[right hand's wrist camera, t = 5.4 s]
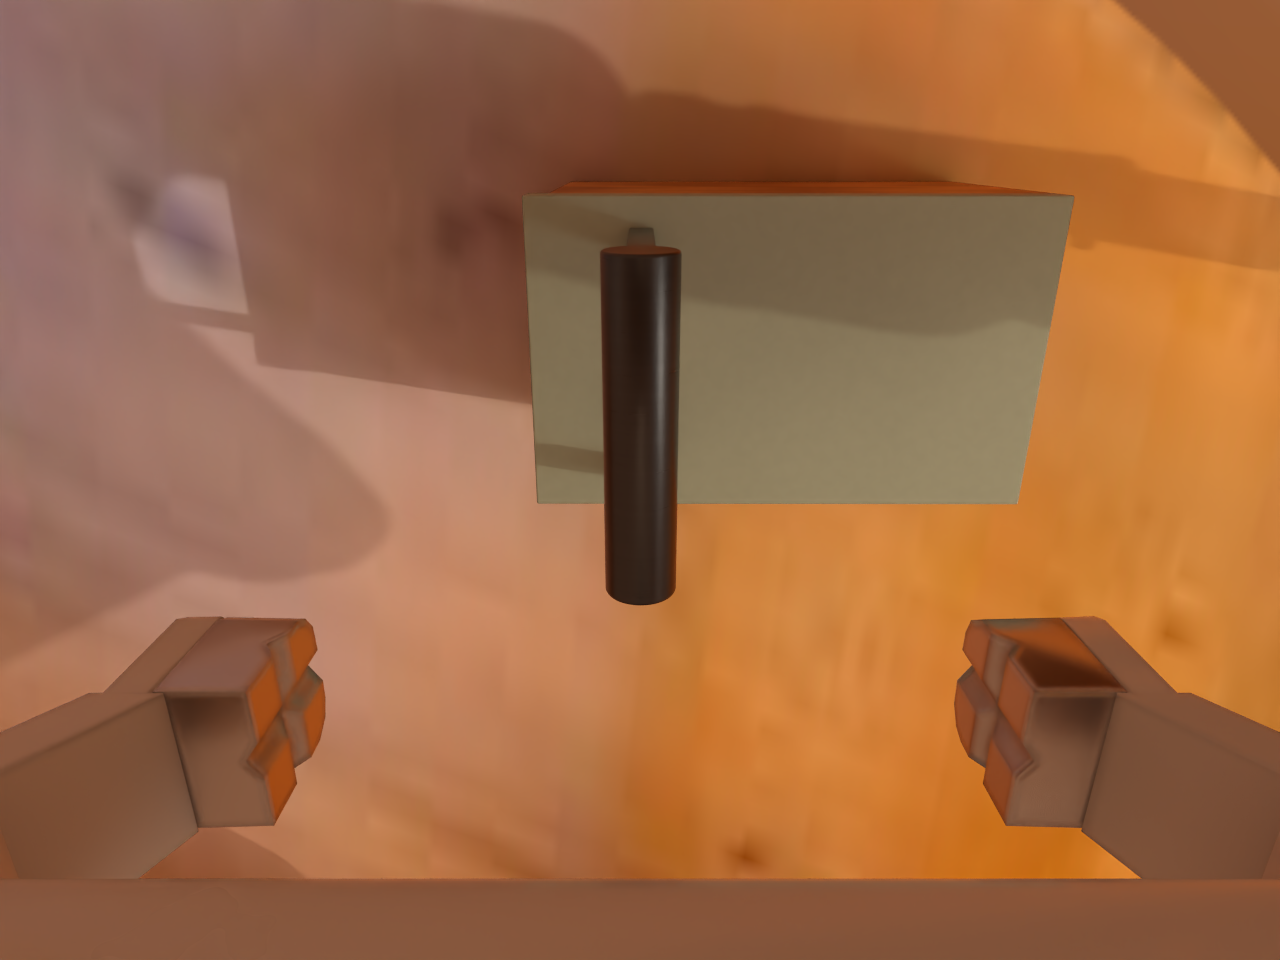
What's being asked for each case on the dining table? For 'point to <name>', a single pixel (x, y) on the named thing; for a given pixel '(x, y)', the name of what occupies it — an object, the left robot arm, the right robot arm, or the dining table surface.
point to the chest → (781, 187)
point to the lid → (782, 353)
